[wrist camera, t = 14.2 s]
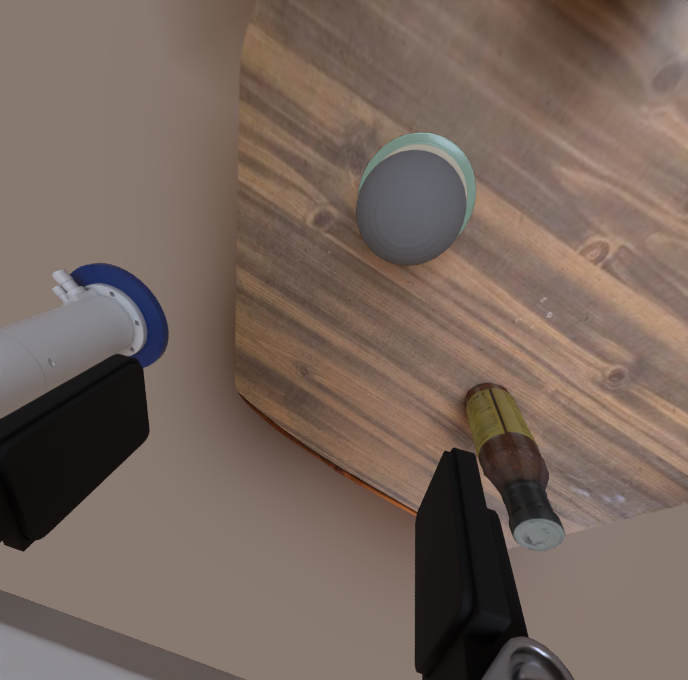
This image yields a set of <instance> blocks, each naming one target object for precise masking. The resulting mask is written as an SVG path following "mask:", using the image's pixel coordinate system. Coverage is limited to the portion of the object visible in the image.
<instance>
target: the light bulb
mask: <svg viewBox="0 0 688 680" xmlns="http://www.w3.org/2000/svg"><path fill="white" fill-rule="evenodd" d="M465 214H466V194H465V188H464V185H463V183H462V180H461V178H460V176H459V175H458V173H457V172H456V170H455V169H454V167H453V166H452V165H451V164H450V163H448V162H447V161H446V160H445V159H444V158H442V157H440V156H438V155H437V154H434V153H431V152H428V151H424V150H408V151H401V152H399V153H396V154H393V155H391V156H389V157H387V158H386V159H384V160H383V161H381V162H380V163H379V164H378V165H377V166H376V167H375V168H374V169H372V171H371V172H370V173H369V175H368V176H367V178H366V179H365V181H364V183H363V185H362V187H361V189H360V192H359V196H358V200H357V208H356V216H357V224H358V227H359V231H360V234H361V236H362V238H363V239H364V241H365V243H366V244H367V246H368V247H369V248H370V249H371V251H373V252H374V253H375V254H376V255H377V256H379V257H380V258H382V259H384V260H386V261H387V262H390V263H394V264H397V265H405V266H408V265H418V264H421V263H425V262H428V261H430V260H432V259H434V258H436V257H438V256H439V255H440V254H442V253H443V252H444V251H446V250H447V248H448V247H449V246H450V245H451V244H452V243H453V242H454V240H455V239H456V237H457V236H458V234H459V232H460V230H461V228H462V225H463V223H464V219H465Z"/></svg>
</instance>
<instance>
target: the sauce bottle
mask: <svg viewBox="0 0 688 680" xmlns="http://www.w3.org/2000/svg"><path fill="white" fill-rule="evenodd" d="M465 407H466V414H467V417H468V421H469V425H470V429H471V432H472V436H473V440H474V444H475V447H476V451H477V455H478V458H479V462H480V465H481V467H482V469H483V472H484V475H485V476H486V477H487V478H488V479H489V480H490V481H491V482H492V484H493V485H494V486H495V487H496V489H497V490H498V491H499V493H500V494H501V496H502V499H503V502H504V504H505V505H506V509H507V512H508V515H509V527H510V530H511V533H512V535H513V537H514V540H515V541H516V542H517V543H518V544H520V545H521V546H523V547H525V548H528V549H530V550H535V551H546V550H549V549H552V548H555V547H556V546H558V545H559V544H560V543H561V542H562V541H563V540H564V537H565V531H564V528H563V526H562V523H561V521H560V519H559V517H558V516H557V515H556V514H555V513H554V512H553V509H552V507H551V505H550V503H549V500H548V498H547V493H546V491H545V489H546V486H547V483H548V480H549V473H548V470H547V467H546V465H545V462H544V459H543V458H542V456H541V454H540V452H539V448H538V446H537V444H536V442H535V440H534V438H533V436H532V434H531V432H530V430H529V428H528V426H527V424H526V422H525V420H524V418H523V416H522V414H521V412H520V410H519V408H518V406H517V404H516V402H515V399H514V398H513V397H512V396H511V395H510V393H509V392H508V391H507V390H506V389H505V388H504V387H502V386H499V385H495V384H482V385H479V386H477V387H476V388H473V389H472V390H471V391H470V392H469V393H468V395H467V398H466V402H465Z"/></svg>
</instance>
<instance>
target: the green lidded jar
mask: <svg viewBox="0 0 688 680" xmlns="http://www.w3.org/2000/svg"><path fill="white" fill-rule="evenodd" d="M408 150H424V151H428V152H431V153H434V154H437V155H438V156H440V157H442V158H444V159H445V160H446V161H447V162H448V163H450V164H451V165H452V166H453V167H454V169H455V170H456V172H457V173H458V175H459V176H460V178H461V180H462V183H463V185H464V188H465V194H466V214H465V219H464V223H463V225H462V228H461V230H460V232H459V234H458V236H459V235H460V233H461V232H462V231H463V229H464V228H465V226H466V225H467V223H468V221H469V219H470V216H471V214H472V211H473V208H474V204H475V198H476V182H475V176H474V172H473V169H472V167H471V164H470V162H469V160H468V158H467V157H466V155H465V154H464V153H463V151H462V150H461V149H460V148H459V147H458V146H457V145H456V144H455V143H453V142H452V141H450V140H449V139H447V138H445V137H443V136H440V135H437V134H433V133H426V132H416V133H410V134H406V135H403V136H400V137H398V138H396V139H394V140H392V141H390V142H389V143H387V144H386V145H385V146H383V147H382V148H381V149H380V150H379V151H378V152H377V153H376V154H375V155H374V156H373V158H372V159H371V161H370V162H369V163H368V165H367V167H366V169H365V171H364V173H363V176H362V178H361V182H360V186H359V192H360V189H361V187H362V185H363V183H364V181H365V179H366V178H367V176H368V175H369V173H370V172H371V171H372V169H374V168H375V167H376V166H377V165H378V164H379V163H380V162H381V161H383V160H384V159H386V158H387V157H389V156H391V155H393V154H396V153H399V152H401V151H408ZM359 192H358V196H359ZM458 236H457V237H458ZM457 237H456V238H457Z"/></svg>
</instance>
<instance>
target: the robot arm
mask: <svg viewBox="0 0 688 680" xmlns="http://www.w3.org/2000/svg"><path fill="white" fill-rule="evenodd" d="M52 277H53V278H54V279H55V280H56V281H57V282H58V283H59V286H56V287H54V288H53V289H52V291H54V293H55V294H56V295H57V296H58V297H59V298H60V299H61V300H62V301H63V303H62V304H63V305H62V306H59V307H57V308H54V309H51V310H48V311H45V312H42V313H39V314H36V315H34V316H31V317H28V318H25V319H22V320H19V321H17V322H14V323H11V324H8V325H5V326H2V327H0V542H1V541H3V543H4V545H6V546H9V547H12V548H15V549H17V550H20V551H25V550H26V549H27V548H28V547H29V546H30V545H31V544H32V543H33V542H34V541H35V540H39V539H41V538H43V537H45V536H46V535H47V534H48V533H49V532H50V531H51V530H53V529H54V528H55V527H56V526H57V525H58V524H59V523H60V522H61V521H62V520H63V519H64V518H65V517H66V516H67V515H68V514H69V513H70V512H71V511H72V510H73V509H74V508H76V507H77V506H78V505H79V504H80V503H81V502H82V501H83V500H84V499H85V498H86V497H87V496H88V495H89V494H90V493H91V492H92V491H93V490H94V489H96V487H97V486H99V485H100V484H101V483H102V482H103V481H104V480H105V479H106V478H107V477H108V476H109V475H110V474H111V473H112V472H113V471H114V470H115V469H116V468H118V466H120V465H121V464H122V463H123V462H124V461H125V460H126V459H127V458H128V457H129V456H130V455H131V454H132V453H133V452H134V451H135V450H136V449H137V448H138V447H140V446H141V445H142V444H143V443H144V441H145V440H146V439H147V437H148V435H149V420H148V411H147V401H146V392H145V382H144V372H143V367H142V366H141V365H140V363H139V361H138V359H136V358H132V357H129V356H131V355H133V354H135V353H137V352H138V351H140V350H141V349H142V348H143V347H144V345H145V343H146V340H147V326H146V322H145V319H144V316H143V314H142V313H141V311H140V309H139V308H138V306H137V305H136V304H135V302H134V301H133V300H132V299H131V298H130V297H129V296H128V295H126V294H125V293H124V292H123V291H121V290H119V289H118V288H116V287H113V286H111V285H108V284H103V283H95V284H91V285H88V286H85V287H83V286H78V284H77V283H76V282H75V281H74V279H73V278H72V277H71V276H70V274H69V273H68V272H67V271H66V270H65V269H62V270H59V271H56V272H55V273H53V274H52ZM67 292H68V293H67ZM71 378H72V379H71ZM48 391H49V392H48ZM41 395H42V396H41ZM415 668H416V671H417V672H418V673H421V674H422V676H423V677H422V680H574V678H573V677H572V675H571V673H570V672H569V670H568V669H567V668H566V666H565V665H564V664H563V663H562V662H561V660H560V659H559V658H558V657H557V656H556V655H555V654H554V653H553V652H551V651H550V650H549V649H548V648H547V647H546V646H544V645H542V644H541V643H539V642H537V641H535V640H534V639H531V638H529V637H528V633H527V629H526V625H525V621H524V617H523V613H522V608H521V605H520V601H519V596H518V592H517V589H516V584H515V580H514V576H513V572H512V568H511V564H510V560H509V556H508V552H507V547H506V543H505V539H504V535H503V531H502V527H501V523H500V519H499V517H498V514H497V513H496V512H495V511H494V510H491V509H488V508H487V506H486V502H485V497H484V492H483V488H482V483H481V478H480V474H479V469H478V464H477V460H476V456H475V454H474V453H471V452H468V451H464V450H460V449H457V448H453V449H452V450H451V451H450V452H448V451H444V453H443V455H442V457H441V459H440V462H439V464H438V466H437V469H436V471H435V473H434V475H433V478H432V480H431V482H430V484H429V487H428V489H427V491H426V494H425V496H424V498H423V500H422V503H421V505H420V507H419V510H418V512H417V516H416V523H415ZM0 680H245V679H243V678H240V677H237V676H235V675H232V674H229V673H227V672H224V671H221V670H218V669H216V668H213V667H210V666H207V665H205V664H202V663H200V662H197V661H194V660H191V659H189V658H186V657H184V656H181V655H178V654H175V653H173V652H170V651H167V650H164V649H162V648H159V647H156V646H154V645H151V644H148V643H145V642H143V641H140V640H137V639H134V638H132V637H129V636H126V635H124V634H120V633H118V632H115V631H113V630H110V629H107V628H104V627H102V626H99V625H96V624H93V623H91V622H88V621H85V620H82V619H80V618H77V617H74V616H71V615H69V614H66V613H63V612H60V611H58V610H55V609H52V608H49V607H46V606H43V605H41V604H38V603H35V602H33V601H30V600H27V599H24V598H21V597H18V596H16V595H13V594H10V593H7V592H4V591H2V590H0Z"/></svg>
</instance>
